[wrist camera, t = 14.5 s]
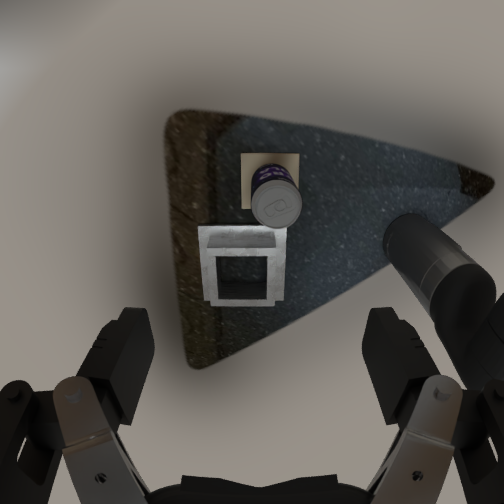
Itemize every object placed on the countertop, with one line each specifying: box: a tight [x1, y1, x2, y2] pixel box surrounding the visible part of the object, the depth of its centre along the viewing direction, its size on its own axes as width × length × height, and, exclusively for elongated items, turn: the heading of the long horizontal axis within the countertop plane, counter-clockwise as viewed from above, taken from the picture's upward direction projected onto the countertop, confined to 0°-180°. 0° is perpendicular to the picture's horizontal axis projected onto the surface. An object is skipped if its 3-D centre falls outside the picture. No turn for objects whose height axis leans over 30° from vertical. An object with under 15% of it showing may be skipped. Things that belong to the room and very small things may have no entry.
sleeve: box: [198, 223, 287, 306], centre depth 48 cm, size 13×13×5 cm
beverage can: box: [251, 163, 303, 229], centre depth 39 cm, size 6×6×12 cm
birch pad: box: [241, 153, 299, 209], centre depth 45 cm, size 8×8×1 cm
